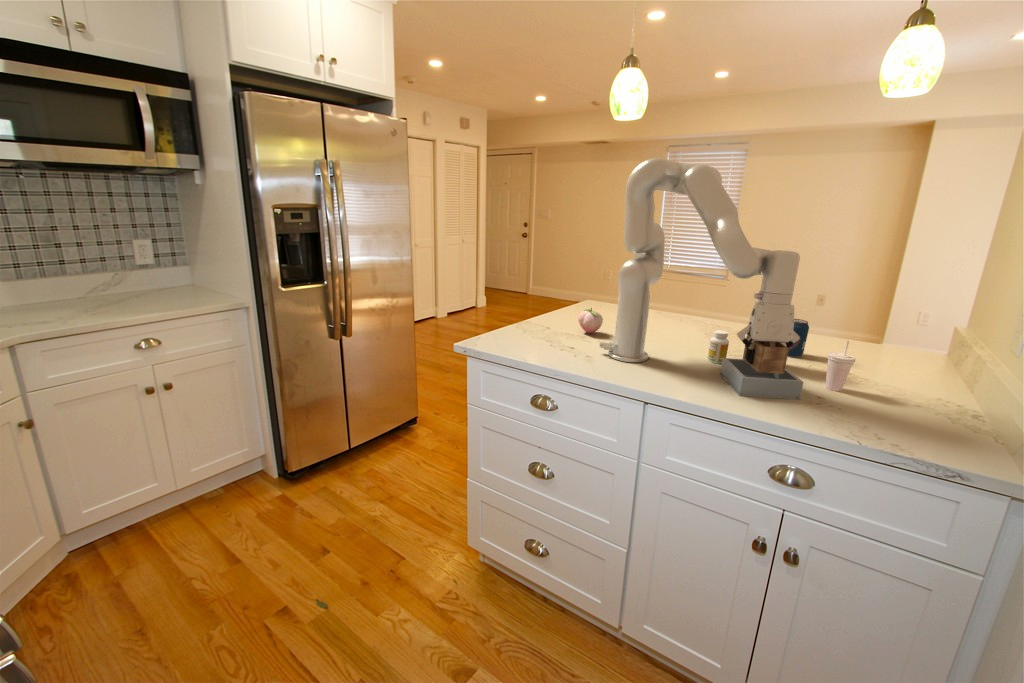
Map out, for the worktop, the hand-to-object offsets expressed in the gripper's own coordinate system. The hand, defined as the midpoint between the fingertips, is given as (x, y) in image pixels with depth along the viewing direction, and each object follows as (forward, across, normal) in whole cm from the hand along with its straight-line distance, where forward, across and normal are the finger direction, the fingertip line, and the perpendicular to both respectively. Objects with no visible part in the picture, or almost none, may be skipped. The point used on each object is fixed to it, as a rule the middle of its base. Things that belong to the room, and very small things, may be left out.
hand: (763, 362), depth 125 cm
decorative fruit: (+7, -44, +44) cm, 63 cm away
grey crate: (+7, 0, 0) cm, 7 cm away
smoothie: (+7, +21, +2) cm, 22 cm away
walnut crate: (+1, 0, 0) cm, 1 cm away
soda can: (+7, +23, +32) cm, 40 cm away
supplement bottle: (+7, -5, +20) cm, 22 cm away
